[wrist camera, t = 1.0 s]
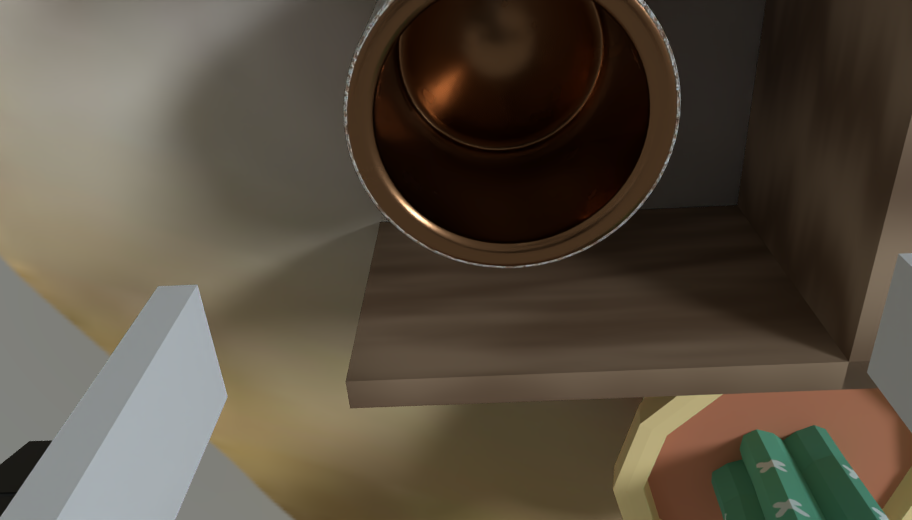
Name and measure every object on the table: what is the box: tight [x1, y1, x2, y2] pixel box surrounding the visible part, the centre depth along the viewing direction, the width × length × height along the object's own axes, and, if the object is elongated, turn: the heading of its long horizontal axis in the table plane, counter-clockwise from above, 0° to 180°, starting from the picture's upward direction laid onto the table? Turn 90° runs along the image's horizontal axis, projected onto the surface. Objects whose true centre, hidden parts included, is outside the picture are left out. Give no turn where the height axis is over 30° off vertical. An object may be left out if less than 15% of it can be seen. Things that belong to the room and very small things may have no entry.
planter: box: [343, 0, 681, 268], centre depth 28 cm, size 11×11×10 cm
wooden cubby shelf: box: [346, 0, 912, 408], centre depth 27 cm, size 18×18×12 cm
